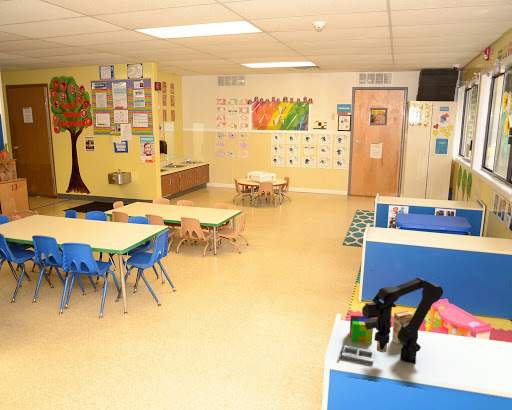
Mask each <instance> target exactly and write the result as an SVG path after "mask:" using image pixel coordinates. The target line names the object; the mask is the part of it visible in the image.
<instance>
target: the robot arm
mask: <svg viewBox="0 0 512 410" xmlns="http://www.w3.org/2000/svg"><path fill="white" fill-rule="evenodd" d="M421 289H422V292H421V293H422V294H421V297H422V298H421V299H420V302H419V303H418V306H417V308H416V309H415V311H414V313H413V317H412V319H411V320H410V322H409V324H408V325H407V326H405V327H403V326H402V327H401V329H400V331H399V332H398V340H399V341H400V343H399V344H401V345H402V346H401V347H400V348H401V349H400V360H401V362H404V363H405V362H407V363H410V364H416V363H417V352H420V350H421V348H422V347H421V345H420V344H418V339H419V330H420V327H421V326H422V324H423V322H424V321H425V319H426V316H427V315H428V313H429V312H430V309H431V308H432V305H434V304H435V303H437V302H439V300H440V299H441V297H442V296H443V294H444V289H443V287H442V286H440V285H438V284H437V283H434V282H432V281H427V280H426V279H425V278H422V277H419V276H418V277H415V278H414V279H412V280H409V281H406V282H405V283H404V282H403V283H401V284H398V285H395V286H386V287H381V288H380V289H379V290H378V292H377V293H376V294H375V296H374V297H373V299H372V300H371V301H372V302H366V303H364V305H363V307H362V309H361V311H362V316H364V318H366V320H365V328H366V329H367V330H369V329H373V330H374V329H375V330H376V332H375V333H374V341H375V342H377V341H379V345H380V350H383V349H384V347H385V345H386V344H387V345H388V344H389V343H390V338H391V336H390V334H391V328H392V324H393V322H392V313H393V312H392V311H393V310H392V309H393V308H397V305H396V304H395V303H396V302H397V301H398V300H399V299H400V298H401V297H402V296H406V295H408V294H411V293H414V292H416V291H418V290H421ZM368 318H371V319H368Z"/></svg>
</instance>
